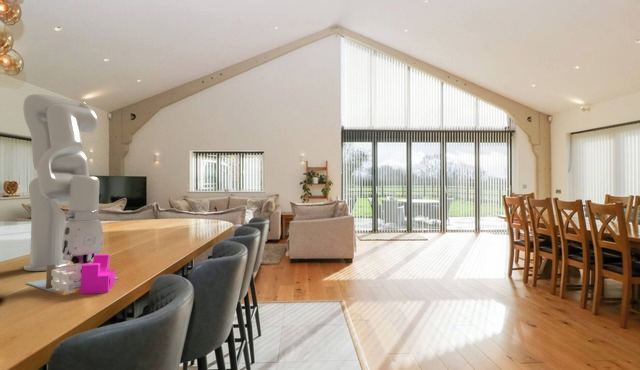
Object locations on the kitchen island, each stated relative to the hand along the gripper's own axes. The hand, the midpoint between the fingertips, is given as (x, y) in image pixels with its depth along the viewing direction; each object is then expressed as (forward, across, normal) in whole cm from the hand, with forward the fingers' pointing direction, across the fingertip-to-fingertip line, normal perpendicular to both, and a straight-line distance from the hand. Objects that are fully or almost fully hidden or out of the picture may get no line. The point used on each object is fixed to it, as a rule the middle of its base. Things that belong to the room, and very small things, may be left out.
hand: (81, 276), depth 106 cm
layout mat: (+1, -2, +1) cm, 2 cm away
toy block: (+1, -2, -11) cm, 11 cm away
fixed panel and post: (+1, -10, -6) cm, 12 cm away
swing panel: (0, -3, -2) cm, 3 cm away
